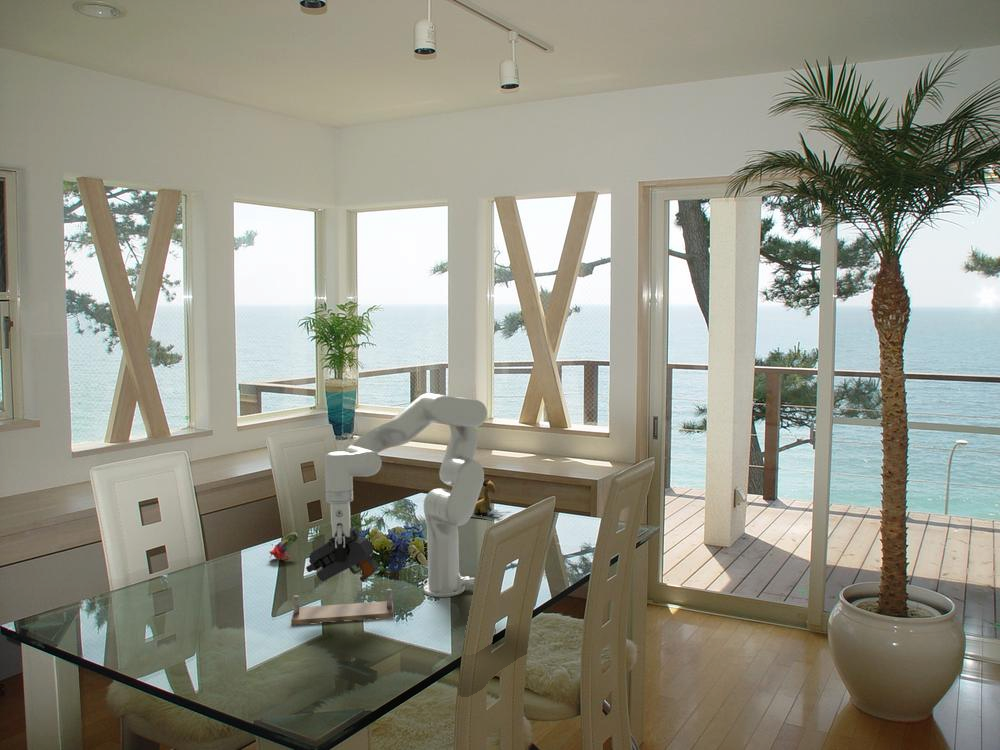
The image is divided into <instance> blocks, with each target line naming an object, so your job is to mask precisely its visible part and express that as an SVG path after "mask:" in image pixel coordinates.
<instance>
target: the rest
mask: <svg viewBox="0 0 1000 750" xmlns="http://www.w3.org/2000/svg"><path fill="white" fill-rule="evenodd" d="M385 592H386V593H385V594H386V595H385V597H386V598H385V599H386V600H385V601H384V600H382V601H372V602H369V601H368V602H357V603H355V602H354V603H341V604H327V605H315V606H314V605H313V606H301V607H300V595H297V594H296V595H292V605H293V606H292V608H293V610H292V612H293V613H292V616H291V620H290V621H291V624H290V625H291V626H297V625H296V624H305V625H311V624H310V623H318V624H321V623H320V622H330V621H344V620H358V619H372V620H377V619H376V618H386V619H393V618H394V616H395V615H394V614H395V613H394V604H393V601H394V600H393V589H392V588H387V589H386V590H385Z"/></svg>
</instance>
